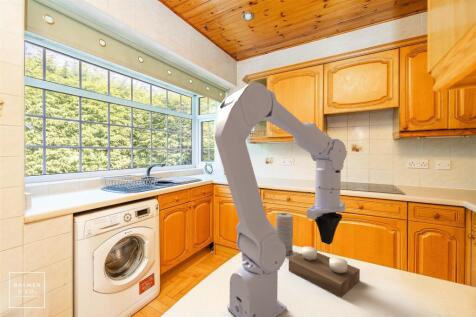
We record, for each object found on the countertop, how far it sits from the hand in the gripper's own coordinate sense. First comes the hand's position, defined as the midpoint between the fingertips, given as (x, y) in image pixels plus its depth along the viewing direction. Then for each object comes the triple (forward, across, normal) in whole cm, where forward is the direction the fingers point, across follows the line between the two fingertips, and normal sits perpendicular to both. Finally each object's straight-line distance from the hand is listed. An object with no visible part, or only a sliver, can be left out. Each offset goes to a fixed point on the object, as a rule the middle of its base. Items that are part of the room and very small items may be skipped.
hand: (326, 242), depth 53 cm
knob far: (+10, +2, +6) cm, 11 cm away
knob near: (+10, +2, -2) cm, 10 cm away
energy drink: (+10, +4, +17) cm, 20 cm away
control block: (+10, +2, +2) cm, 10 cm away
